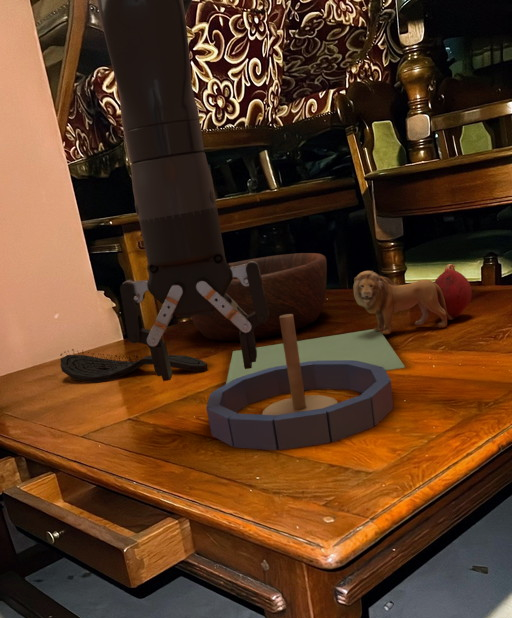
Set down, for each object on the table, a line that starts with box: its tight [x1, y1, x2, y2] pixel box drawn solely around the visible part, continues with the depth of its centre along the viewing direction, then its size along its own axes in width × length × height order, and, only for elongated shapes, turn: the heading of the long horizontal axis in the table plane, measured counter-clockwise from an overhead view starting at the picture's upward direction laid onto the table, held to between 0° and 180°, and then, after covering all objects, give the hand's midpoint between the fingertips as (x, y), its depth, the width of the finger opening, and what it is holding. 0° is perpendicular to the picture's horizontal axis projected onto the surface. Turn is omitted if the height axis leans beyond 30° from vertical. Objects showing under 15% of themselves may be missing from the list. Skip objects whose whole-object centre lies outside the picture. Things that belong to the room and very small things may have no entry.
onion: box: [433, 263, 473, 320], centre depth 101 cm, size 6×6×8 cm
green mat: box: [225, 328, 406, 384], centre depth 93 cm, size 22×22×1 cm
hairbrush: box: [59, 348, 208, 383], centre depth 103 cm, size 8×4×25 cm
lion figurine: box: [352, 270, 454, 335], centre depth 98 cm, size 15×5×9 cm, turn 101°
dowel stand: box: [261, 314, 339, 415], centre depth 71 cm, size 8×8×11 cm
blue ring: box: [205, 360, 394, 451], centre depth 73 cm, size 19×19×4 cm
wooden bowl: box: [190, 252, 328, 342], centre depth 118 cm, size 25×25×10 cm
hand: (207, 373), depth 72 cm, fingers open, 8 cm apart
